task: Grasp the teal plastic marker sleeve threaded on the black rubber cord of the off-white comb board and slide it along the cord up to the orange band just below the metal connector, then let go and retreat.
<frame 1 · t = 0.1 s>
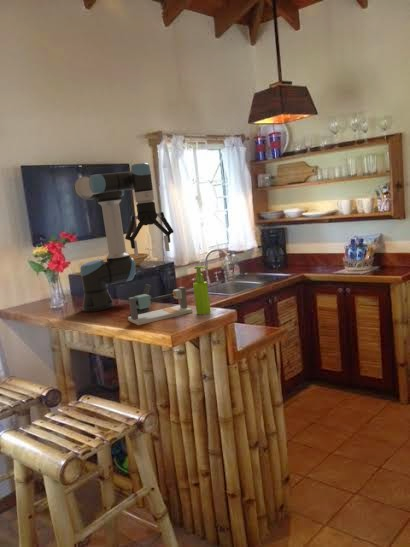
hand: (152, 253, 207), 28 cm above the countertop, fingers open, 13 cm apart
soap dispenser: (205, 313, 212), on the countertop
mortar and pestle: (143, 311, 229), on the countertop
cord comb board: (160, 316, 216), on the countertop
marker sleeve: (142, 301, 211), point 8 cm above the countertop, slide at -7.0 cm
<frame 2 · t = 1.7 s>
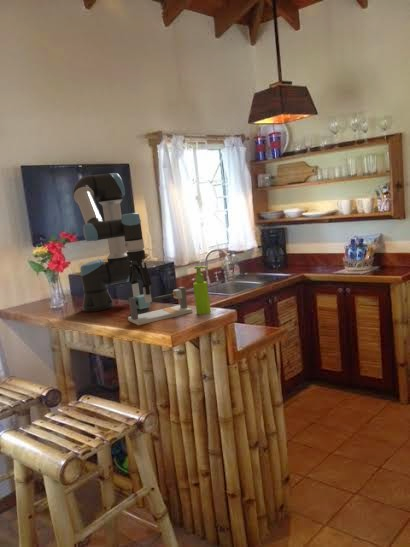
hand: (142, 300, 211), 9 cm above the countertop, fingers open, 13 cm apart
nothing on the countertop moved.
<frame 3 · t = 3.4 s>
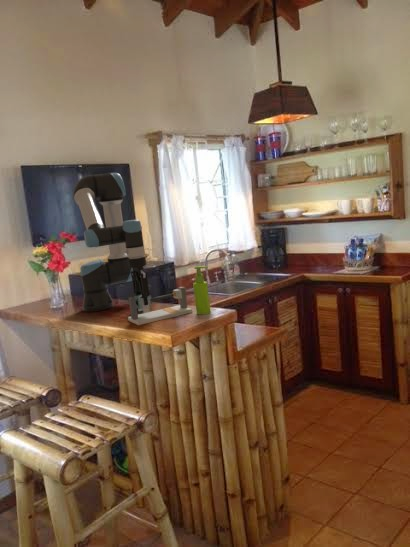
hand: (144, 311, 212), 4 cm above the countertop, fingers closed on marker sleeve, 5 cm apart
marker sleeve: (142, 301, 211), point 8 cm above the countertop, slide at -7.0 cm, touching gripper
everything else where it was.
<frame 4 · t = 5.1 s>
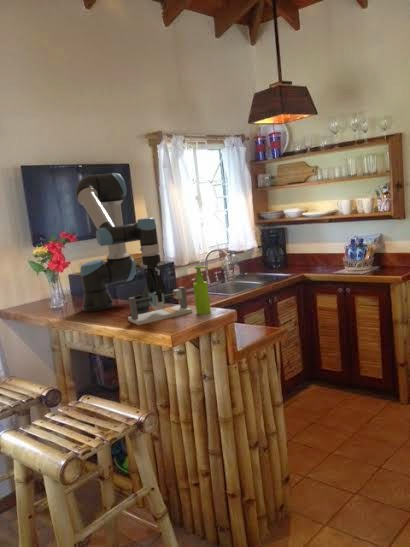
hand: (158, 308, 215), 4 cm above the countertop, fingers closed on marker sleeve, 5 cm apart
marker sleeve: (156, 298, 214), point 8 cm above the countertop, slide at -0.6 cm, touching gripper
everything else where it was.
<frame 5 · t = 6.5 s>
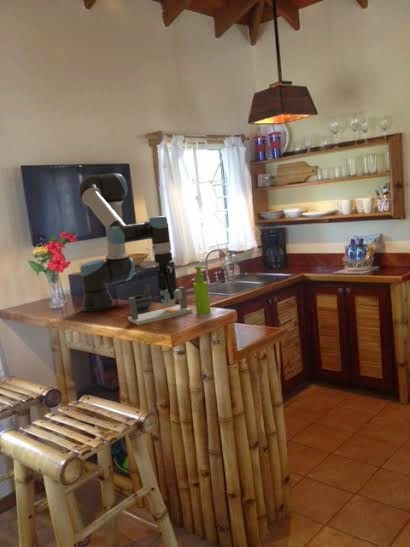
hand: (169, 305, 217), 4 cm above the countertop, fingers closed on marker sleeve, 5 cm apart
marker sleeve: (168, 295, 217), point 8 cm above the countertop, slide at 4.9 cm, touching gripper
everything else where it was.
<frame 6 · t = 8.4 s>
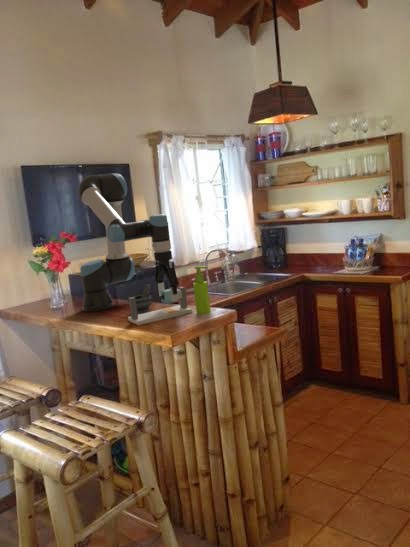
hand: (168, 299, 217), 6 cm above the countertop, fingers open, 13 cm apart
marker sleeve: (168, 295, 217), point 8 cm above the countertop, slide at 5.0 cm
everything else where it was.
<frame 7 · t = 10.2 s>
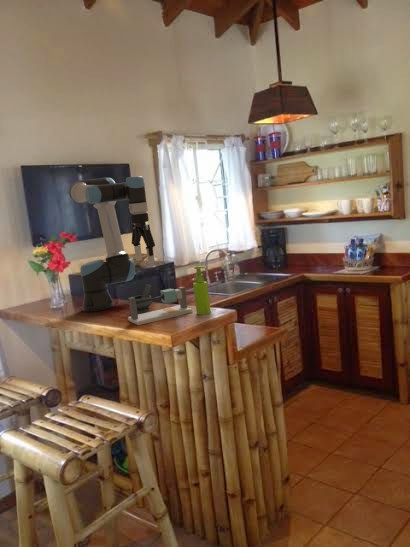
hand: (145, 261, 218), 23 cm above the countertop, fingers open, 13 cm apart
nothing on the countertop moved.
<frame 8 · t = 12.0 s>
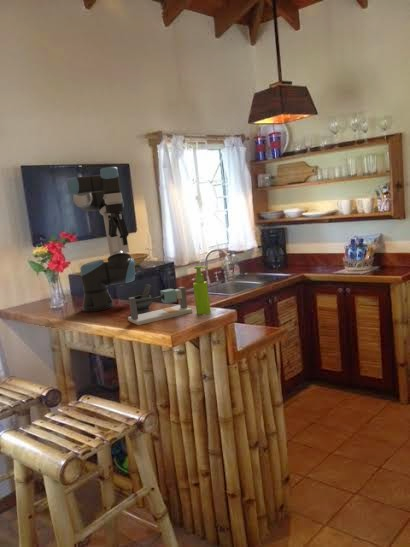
hand: (120, 252, 221), 29 cm above the countertop, fingers open, 13 cm apart
nothing on the countertop moved.
at the end: marker sleeve slide at 5.0 cm; the gripper is holding nothing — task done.
